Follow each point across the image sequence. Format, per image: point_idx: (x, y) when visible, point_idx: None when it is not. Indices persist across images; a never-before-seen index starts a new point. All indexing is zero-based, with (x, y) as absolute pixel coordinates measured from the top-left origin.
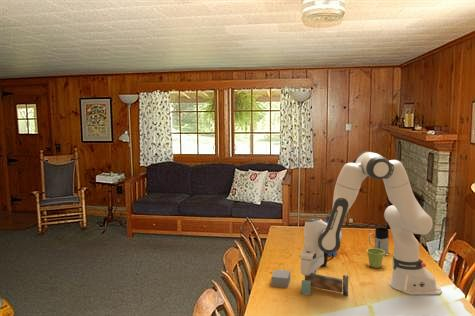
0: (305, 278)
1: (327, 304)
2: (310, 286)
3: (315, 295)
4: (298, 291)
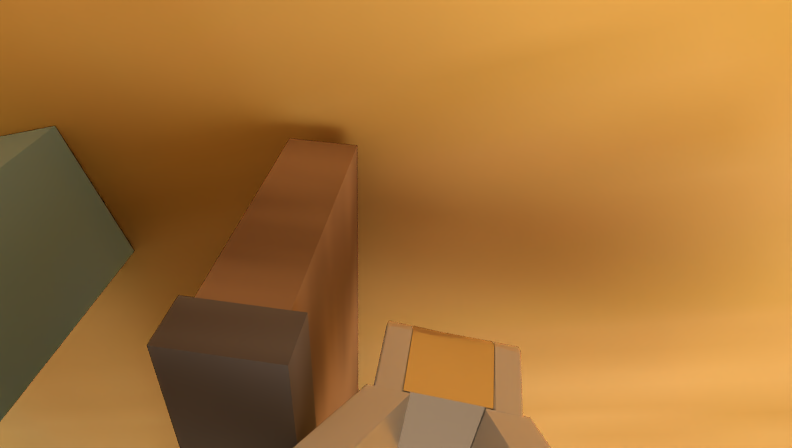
0: (233, 255)
1: (19, 425)
2: (57, 338)
3: (117, 314)
4: (39, 55)
